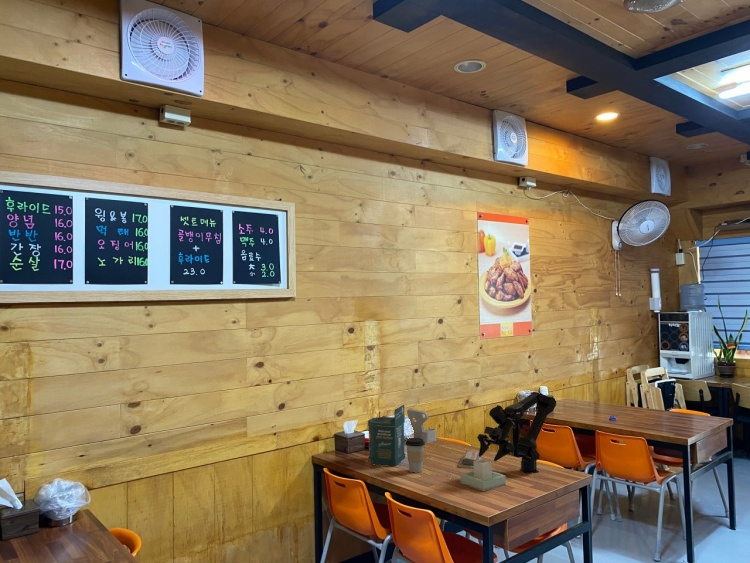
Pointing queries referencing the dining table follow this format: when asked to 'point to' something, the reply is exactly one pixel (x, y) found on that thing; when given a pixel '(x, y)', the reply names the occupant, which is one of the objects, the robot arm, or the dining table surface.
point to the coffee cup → (415, 454)
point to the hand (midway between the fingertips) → (486, 458)
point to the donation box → (387, 439)
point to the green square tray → (483, 481)
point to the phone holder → (421, 425)
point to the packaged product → (469, 459)
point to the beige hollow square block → (482, 469)
